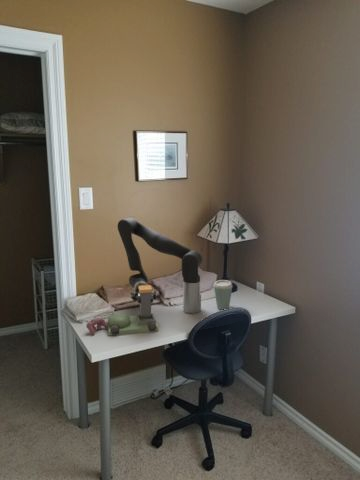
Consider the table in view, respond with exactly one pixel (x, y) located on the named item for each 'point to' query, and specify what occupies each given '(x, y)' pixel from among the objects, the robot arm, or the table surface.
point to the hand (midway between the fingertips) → (146, 301)
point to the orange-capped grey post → (145, 300)
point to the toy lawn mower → (131, 324)
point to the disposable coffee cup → (223, 293)
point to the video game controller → (99, 322)
